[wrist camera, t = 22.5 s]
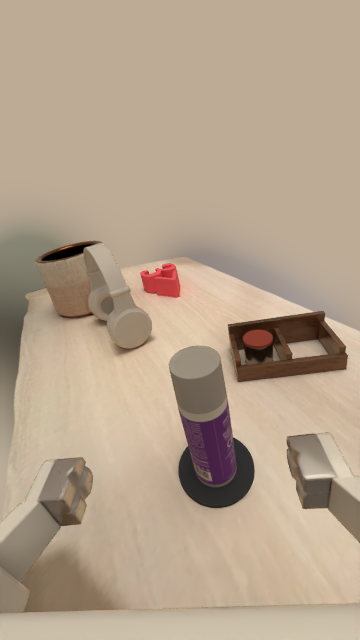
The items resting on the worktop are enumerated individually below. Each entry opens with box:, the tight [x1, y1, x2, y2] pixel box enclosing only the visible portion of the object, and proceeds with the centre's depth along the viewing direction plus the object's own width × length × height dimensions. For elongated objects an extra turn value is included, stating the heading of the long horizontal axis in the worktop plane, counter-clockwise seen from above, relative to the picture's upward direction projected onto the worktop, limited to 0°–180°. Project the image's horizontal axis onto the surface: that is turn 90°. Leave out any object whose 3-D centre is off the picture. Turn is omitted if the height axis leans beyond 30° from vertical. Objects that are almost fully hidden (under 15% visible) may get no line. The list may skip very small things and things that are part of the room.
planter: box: [35, 241, 102, 317], centre depth 76 cm, size 18×18×16 cm
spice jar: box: [243, 330, 273, 365], centre depth 44 cm, size 4×4×4 cm
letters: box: [140, 263, 180, 297], centre depth 77 cm, size 14×10×5 cm
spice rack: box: [228, 311, 348, 382], centre depth 44 cm, size 9×16×5 cm, turn 88°
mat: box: [179, 438, 254, 508], centre depth 31 cm, size 8×8×1 cm
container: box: [169, 346, 237, 487], centre depth 27 cm, size 5×5×15 cm
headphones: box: [83, 243, 152, 348], centre depth 58 cm, size 20×8×19 cm, turn 30°
